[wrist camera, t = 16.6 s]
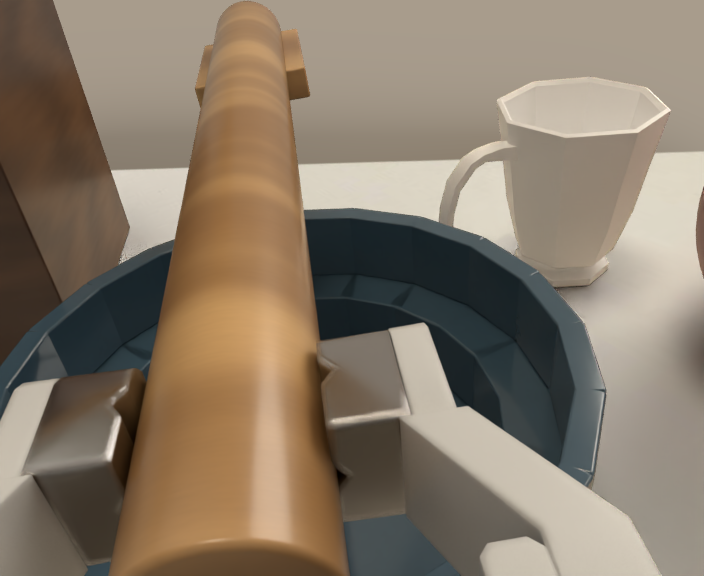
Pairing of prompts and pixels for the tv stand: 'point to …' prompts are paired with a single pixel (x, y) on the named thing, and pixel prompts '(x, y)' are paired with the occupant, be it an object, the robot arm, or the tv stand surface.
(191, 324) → the wooden dowel
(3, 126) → the tall wooden pillar
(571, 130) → the cup
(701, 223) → the mortar and pestle
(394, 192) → the tv stand surface
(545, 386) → the bowl
